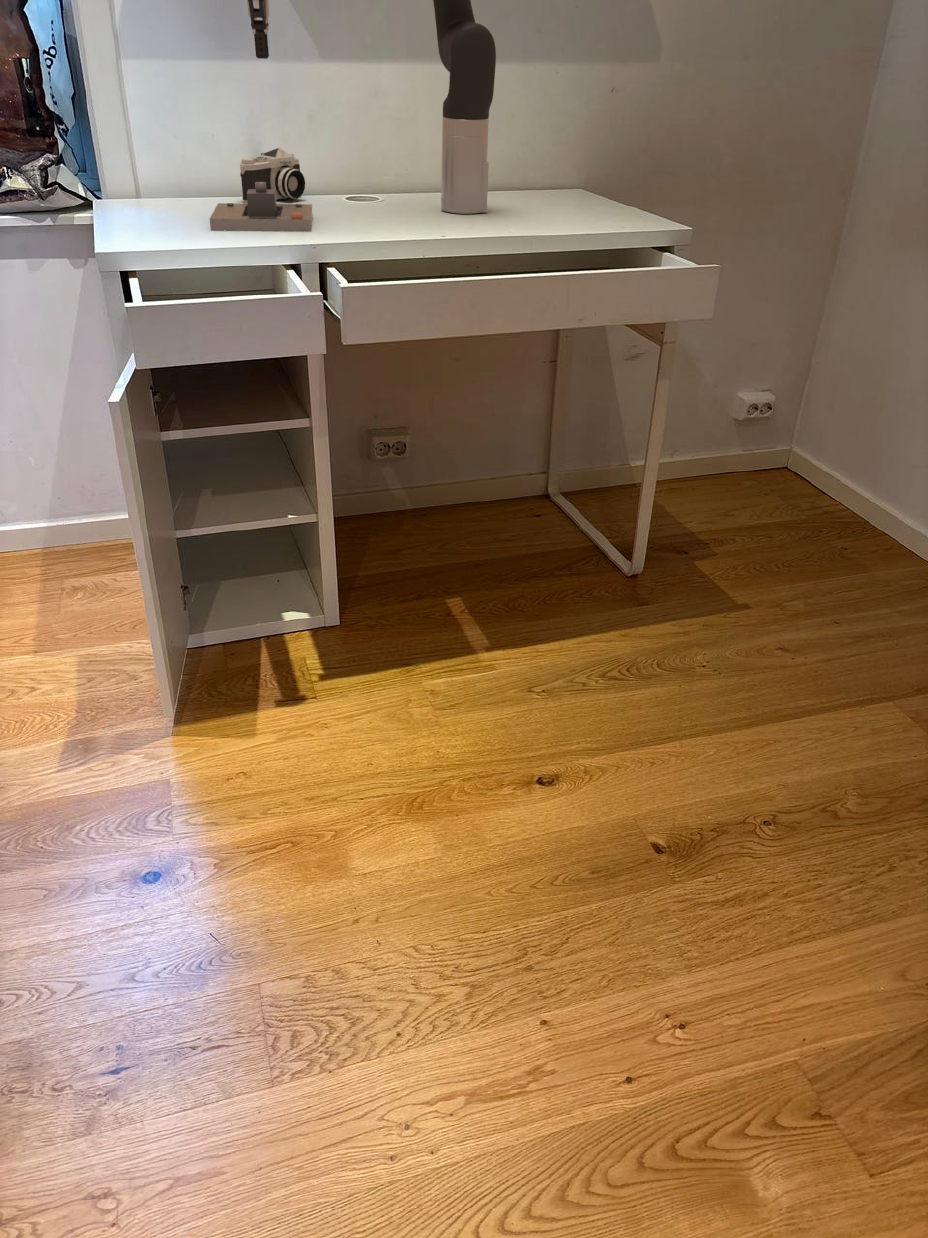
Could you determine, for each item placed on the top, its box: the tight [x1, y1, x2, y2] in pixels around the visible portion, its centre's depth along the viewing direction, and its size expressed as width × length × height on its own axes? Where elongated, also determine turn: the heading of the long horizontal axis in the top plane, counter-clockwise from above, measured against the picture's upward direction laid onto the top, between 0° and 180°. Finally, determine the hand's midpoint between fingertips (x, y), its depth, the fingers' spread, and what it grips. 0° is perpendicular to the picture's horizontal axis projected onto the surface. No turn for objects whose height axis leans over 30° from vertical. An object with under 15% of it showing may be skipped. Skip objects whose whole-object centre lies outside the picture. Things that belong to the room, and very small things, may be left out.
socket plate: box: [209, 202, 314, 233], centre depth 176 cm, size 18×15×3 cm
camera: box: [239, 147, 306, 204], centre depth 197 cm, size 16×9×10 cm, turn 143°
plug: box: [246, 182, 278, 217], centre depth 175 cm, size 5×4×8 cm
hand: (262, 57), depth 166 cm, fingers closed
